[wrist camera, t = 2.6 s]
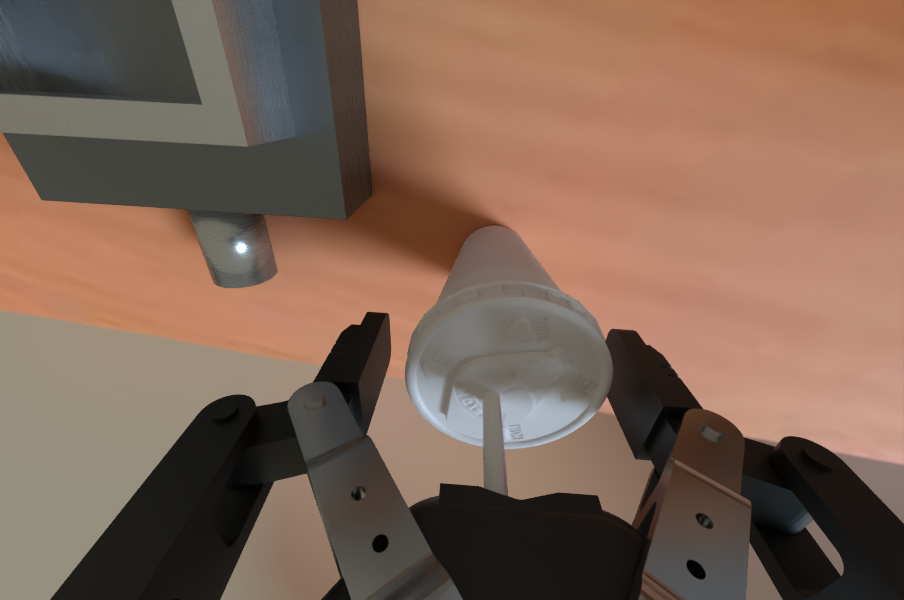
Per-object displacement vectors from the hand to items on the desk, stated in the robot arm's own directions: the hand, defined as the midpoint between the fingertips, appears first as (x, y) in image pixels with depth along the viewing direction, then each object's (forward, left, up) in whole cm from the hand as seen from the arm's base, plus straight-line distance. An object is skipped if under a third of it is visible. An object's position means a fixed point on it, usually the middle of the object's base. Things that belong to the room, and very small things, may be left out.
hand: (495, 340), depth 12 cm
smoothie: (0, 0, -8) cm, 8 cm away
